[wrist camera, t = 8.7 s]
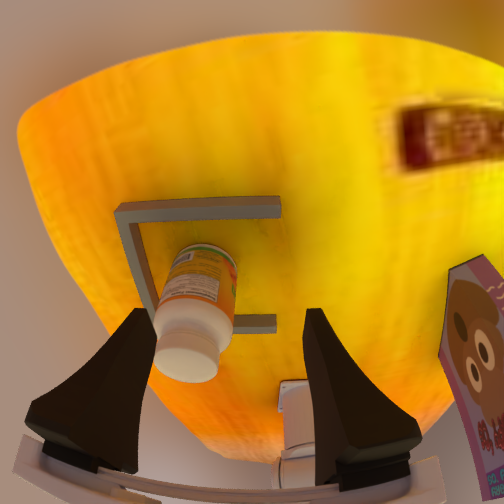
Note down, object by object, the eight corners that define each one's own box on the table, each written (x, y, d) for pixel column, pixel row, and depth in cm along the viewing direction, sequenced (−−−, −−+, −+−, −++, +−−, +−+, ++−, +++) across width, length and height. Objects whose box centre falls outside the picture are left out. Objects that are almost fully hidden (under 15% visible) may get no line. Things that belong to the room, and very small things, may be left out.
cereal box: (448, 269, 24) (547, 486, 4) (482, 253, 23) (589, 448, 3) (437, 356, 33) (482, 502, 13) (464, 343, 32) (514, 483, 12)
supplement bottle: (230, 297, 26) (221, 394, 18) (171, 285, 25) (143, 378, 17) (244, 249, 23) (238, 351, 15) (177, 235, 22) (140, 331, 14)
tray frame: (275, 321, 28) (276, 333, 26) (156, 320, 28) (153, 331, 27) (279, 195, 20) (280, 205, 19) (121, 203, 21) (113, 212, 19)
